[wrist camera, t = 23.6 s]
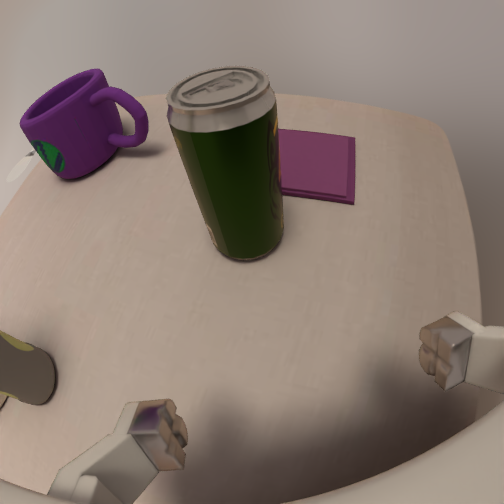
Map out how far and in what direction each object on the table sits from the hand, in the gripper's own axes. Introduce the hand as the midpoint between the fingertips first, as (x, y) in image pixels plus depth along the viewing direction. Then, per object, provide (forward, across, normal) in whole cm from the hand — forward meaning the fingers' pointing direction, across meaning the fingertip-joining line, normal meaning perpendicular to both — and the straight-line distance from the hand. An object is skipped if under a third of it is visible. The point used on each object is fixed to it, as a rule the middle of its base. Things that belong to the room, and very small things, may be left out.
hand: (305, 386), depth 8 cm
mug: (+27, +14, -15) cm, 34 cm away
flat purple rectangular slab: (+20, -4, -8) cm, 22 cm away
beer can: (+15, 0, -3) cm, 15 cm away
